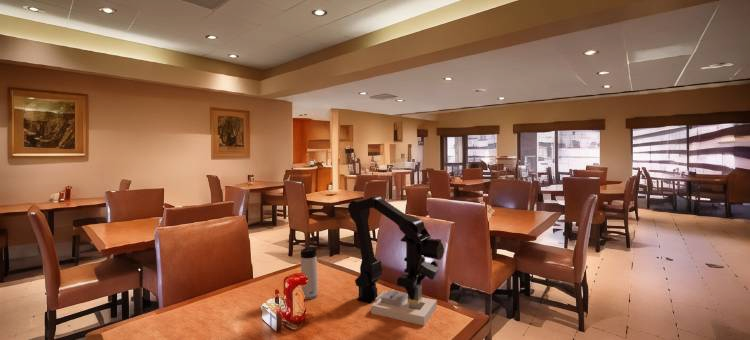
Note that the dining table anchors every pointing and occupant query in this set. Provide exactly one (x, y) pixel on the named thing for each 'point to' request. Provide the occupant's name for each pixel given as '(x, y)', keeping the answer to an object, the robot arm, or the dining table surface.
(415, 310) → the socket
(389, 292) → the block
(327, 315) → the dining table surface
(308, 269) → the travel mug
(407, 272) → the robot arm
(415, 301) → the plug
